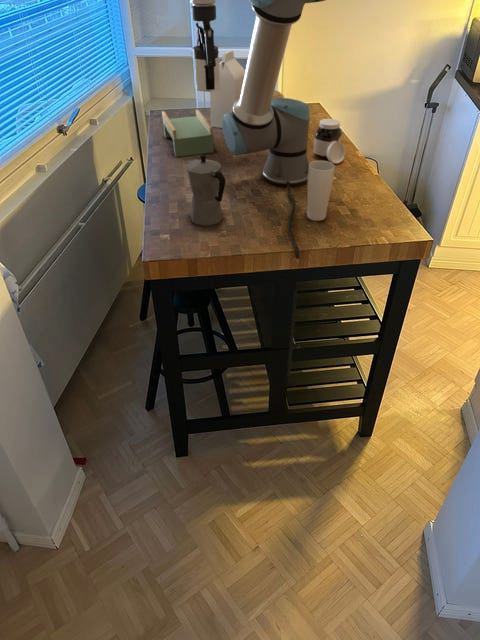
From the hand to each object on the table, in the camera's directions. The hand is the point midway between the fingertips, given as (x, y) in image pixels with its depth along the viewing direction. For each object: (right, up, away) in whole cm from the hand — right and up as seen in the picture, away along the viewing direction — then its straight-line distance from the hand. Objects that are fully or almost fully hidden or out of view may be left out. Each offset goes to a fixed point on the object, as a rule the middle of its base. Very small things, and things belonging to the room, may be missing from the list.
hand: (206, 85), depth 157 cm
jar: (0, -1, +1) cm, 1 cm away
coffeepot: (+2, -50, -25) cm, 56 cm away
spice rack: (-8, -12, +19) cm, 24 cm away
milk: (+7, +2, +37) cm, 37 cm away
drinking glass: (+32, -49, -25) cm, 64 cm away
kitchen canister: (+22, -7, +26) cm, 34 cm away
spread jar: (+42, -22, +8) cm, 48 cm away
